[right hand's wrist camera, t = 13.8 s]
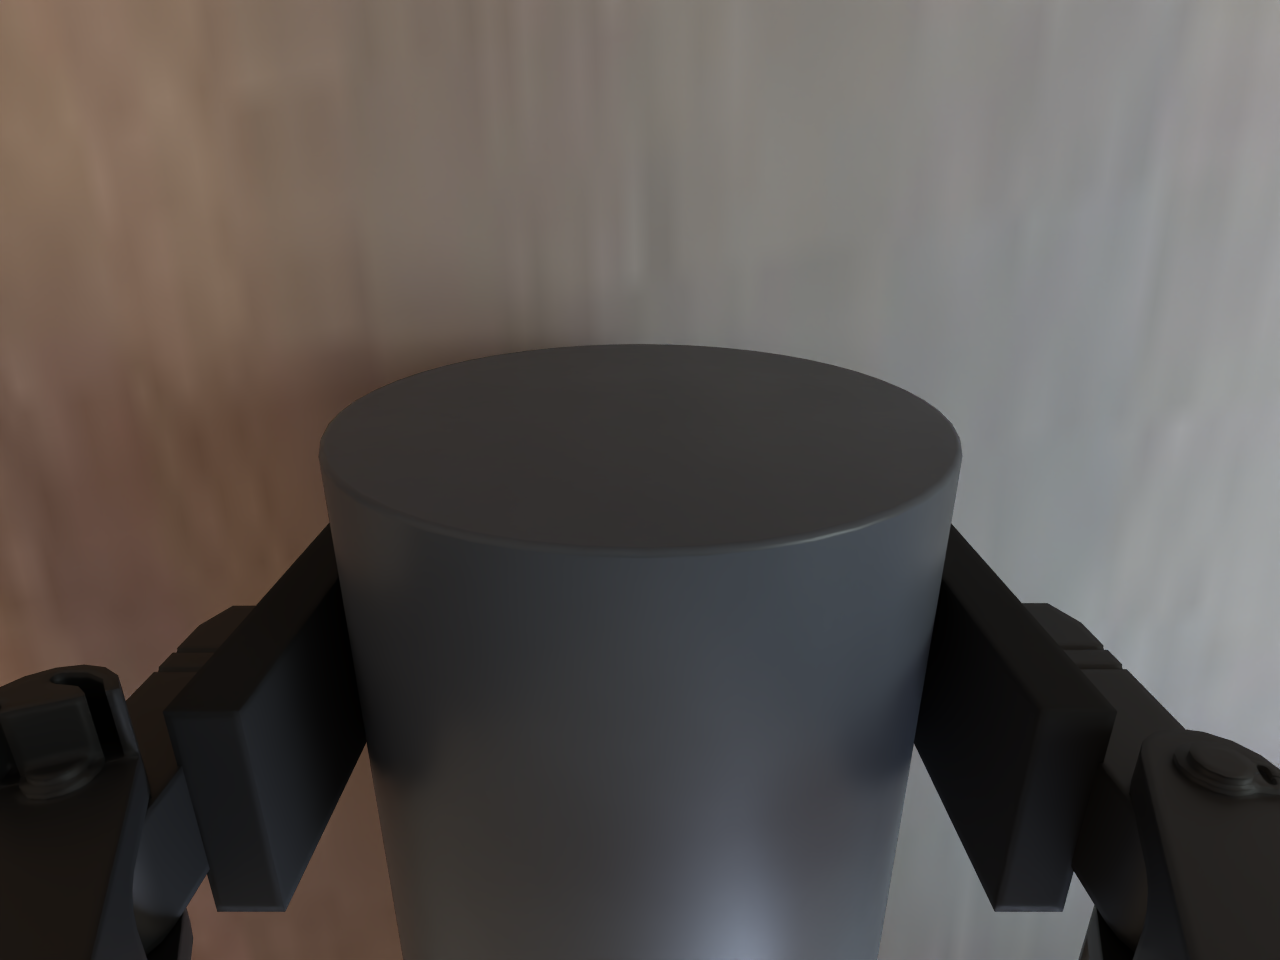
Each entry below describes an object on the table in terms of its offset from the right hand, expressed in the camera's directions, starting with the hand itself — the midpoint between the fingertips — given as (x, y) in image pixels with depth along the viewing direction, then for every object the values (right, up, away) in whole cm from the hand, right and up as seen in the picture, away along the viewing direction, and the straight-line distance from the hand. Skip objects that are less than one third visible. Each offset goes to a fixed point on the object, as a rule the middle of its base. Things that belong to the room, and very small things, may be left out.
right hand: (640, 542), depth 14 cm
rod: (0, -7, +4) cm, 8 cm away
